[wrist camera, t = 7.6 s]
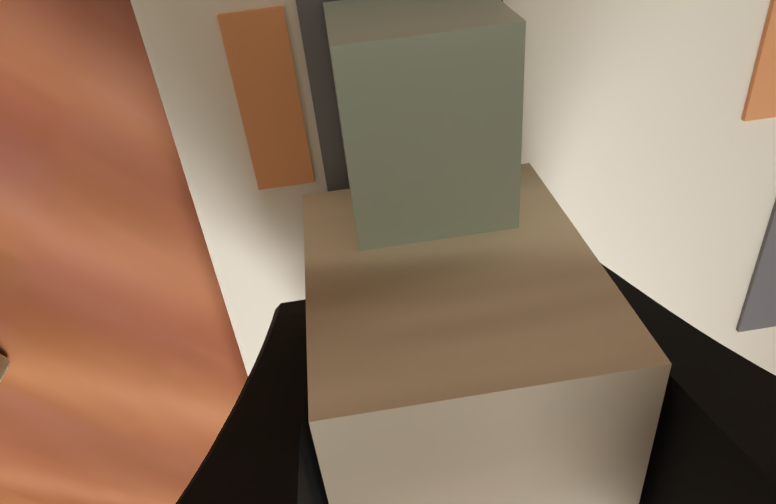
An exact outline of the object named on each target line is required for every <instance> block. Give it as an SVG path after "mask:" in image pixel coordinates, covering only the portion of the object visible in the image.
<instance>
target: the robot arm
mask: <svg viewBox="0 0 776 504" xmlns="http://www.w3.org/2000/svg"><path fill="white" fill-rule="evenodd" d="M601 265H602V266H603V267H604V269H605V270H606V272H607V273H608V274H609V276H610V277H611V279H612V280H613V282H614V283H615V284H616V286H617V287H618V289H619V290H620V291H621V293H622V294H623V296H624V297H625V298H626V300H627V301H628V303H629V304H630V306H631V307H632V308H633V310H634V311H635V313H636V314H637V315H638V317H639V318H640V320H641V321H642V322H643V324H644V325H645V327H646V328H647V330H648V331H649V332H650V334H651V335H652V337H653V338H654V339H655V341H656V342H657V344H658V345H659V347H660V348H661V349H662V351H663V352H664V354H665V355H666V356H667V358H668V359H669V361H670V362H671V363H672V365H671V369H670V373H669V377H668V382H667V386H666V390H665V395H664V399H663V403H662V407H661V412H660V416H659V420H658V424H657V429H656V433H655V437H654V441H653V446H652V450H651V454H650V458H649V463H648V467H647V471H646V475H645V480H644V484H643V488H642V492H641V497H640V501H639V504H776V375H774V374H772V373H770V372H768V371H766V370H765V369H763V368H761V367H759V366H758V365H756V364H754V363H753V362H751V361H749V360H747V359H746V358H744V357H742V356H741V355H739V354H737V353H736V352H734V351H732V350H731V349H729V348H727V347H725V346H724V345H722V344H720V343H719V342H717V341H716V340H714V339H712V338H711V337H709V336H708V335H706V334H704V333H703V332H701V331H700V330H698V329H697V328H695V327H693V326H692V325H690V324H689V323H687V322H686V321H684V320H683V319H681V318H680V317H678V316H677V315H675V314H674V313H672V312H671V311H669V310H668V309H666V308H665V307H663V306H662V305H660V304H659V303H657V302H656V301H654V300H653V299H652V298H650V297H649V296H647V295H646V294H644V293H643V292H642V291H640V290H639V289H637V288H636V287H634V286H633V285H631V284H630V283H629V282H627V281H626V280H624V279H623V278H621V277H620V276H619V275H617V274H616V273H614V272H613V271H611V270H610V269H609V268H607V267H606V266H604V265H603V264H601ZM176 504H329V502H328V498H327V494H326V490H325V486H324V482H323V478H322V474H321V470H320V466H319V462H318V458H317V454H316V450H315V446H314V442H313V438H312V434H311V430H310V426H309V420H308V380H307V340H306V300H298V301H291V302H285V303H280V305H279V306H278V307H277V308H276V309H275V312H274V315H273V318H272V321H271V324H270V327H269V329H268V332H267V335H266V337H265V340H264V342H263V345H262V347H261V350H260V352H259V354H258V357H257V359H256V361H255V364H254V366H253V368H252V370H251V372H250V374H249V376H248V378H247V381H246V383H245V385H244V387H243V389H242V391H241V393H240V395H239V397H238V399H237V401H236V403H235V405H234V407H233V409H232V411H231V413H230V415H229V416H228V418H227V420H226V422H225V424H224V425H223V427H222V429H221V431H220V433H219V434H218V436H217V438H216V440H215V442H214V443H213V445H212V447H211V449H210V451H209V452H208V454H207V456H206V457H205V459H204V460H203V462H202V464H201V465H200V467H199V469H198V470H197V472H196V473H195V475H194V477H193V478H192V480H191V481H190V483H189V484H188V486H187V487H186V489H185V490H184V492H183V493H182V495H181V496H180V498H179V499H178V501H177V502H176Z"/></svg>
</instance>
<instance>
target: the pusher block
mask: <svg viewBox="0 0 776 504" xmlns="http://www.w3.org/2000/svg"><path fill="white" fill-rule="evenodd" d="M303 220H304V260H305V300H306V340H307V380H308V420H309V426H310V430H311V434H312V438H313V442H314V446H315V450H316V454H317V458H318V462H319V466H320V470H321V474H322V478H323V482H324V486H325V490H326V494H327V498H328V502H329V504H639V501H640V497H641V492H642V488H643V484H644V480H645V475H646V471H647V467H648V463H649V458H650V454H651V450H652V446H653V441H654V437H655V433H656V429H657V424H658V420H659V416H660V412H661V407H662V403H663V399H664V395H665V390H666V386H667V382H668V377H669V373H670V369H671V365H672V363H671V362H670V361H669V359H668V358H667V356H666V355H665V354H664V352H663V351H662V349H661V348H660V347H659V345H658V344H657V342H656V341H655V339H654V338H653V337H652V335H651V334H650V332H649V331H648V330H647V328H646V327H645V325H644V324H643V322H642V321H641V320H640V318H639V317H638V315H637V314H636V313H635V311H634V310H633V308H632V307H631V306H630V304H629V303H628V301H627V300H626V298H625V297H624V296H623V294H622V293H621V291H620V290H619V289H618V287H617V286H616V284H615V283H614V282H613V280H612V279H611V277H610V276H609V274H608V273H607V272H606V270H605V269H604V267H603V266H602V265H601V263H600V262H599V260H598V259H597V257H596V256H595V255H594V253H593V252H592V250H591V249H590V248H589V246H588V245H587V243H586V242H585V241H584V239H583V238H582V236H581V235H580V233H579V232H578V231H577V229H576V228H575V226H574V225H573V224H572V222H571V221H570V219H569V218H568V217H567V215H566V214H565V212H564V211H563V209H562V208H561V207H560V205H559V204H558V202H557V201H556V200H555V198H554V197H553V195H552V194H551V193H550V191H549V190H548V188H547V187H546V185H545V184H544V183H543V181H542V180H541V178H540V177H539V176H538V174H537V173H536V171H535V170H534V168H533V167H532V166H531V164H530V163H526V164H521V181H520V210H519V228H514V229H507V230H500V231H493V232H486V233H480V234H473V235H466V236H459V237H453V238H446V239H439V240H432V241H425V242H419V243H412V244H405V245H398V246H391V247H385V248H378V249H371V250H364V251H359V244H358V238H357V232H356V225H355V219H354V212H353V206H352V200H351V193H350V189H343V190H336V191H329V192H322V193H315V194H308V195H303Z"/></svg>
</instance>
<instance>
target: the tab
mask: <svg viewBox="0 0 776 504" xmlns="http://www.w3.org/2000/svg"><path fill="white" fill-rule="evenodd" d="M323 8H324V14H325V21H326V28H327V35H328V42H329V49H330V56H331V63H332V70H333V77H334V84H335V91H336V97H337V104H338V111H339V118H340V125H341V132H342V139H343V146H344V153H345V160H346V167H347V174H348V180H349V187H350V193H351V200H352V206H353V212H354V219H355V225H356V232H357V238H358V244H359V251H364V250H371V249H378V248H385V247H391V246H398V245H405V244H412V243H419V242H425V241H432V240H439V239H446V238H453V237H459V236H466V235H473V234H480V233H486V232H493V231H500V230H507V229H514V228H519V210H520V181H521V152H522V123H523V93H524V64H525V35H526V21H525V20H524V19H523V18H522V17H520V16H519V15H518V14H517V13H516V12H514V11H513V10H512V9H511V8H510V7H508V6H507V5H506V4H505V3H504V2H502V1H501V0H338V1H330V2H323Z"/></svg>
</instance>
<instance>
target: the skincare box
mask: <svg viewBox="0 0 776 504" xmlns="http://www.w3.org/2000/svg"><path fill="white" fill-rule="evenodd" d="M8 366H9V359H8V358H7V357H5V356H3V355H2V354H0V382H1V380H2V378H3V376H4V374H5V372H6V370H7V369H8Z"/></svg>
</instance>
